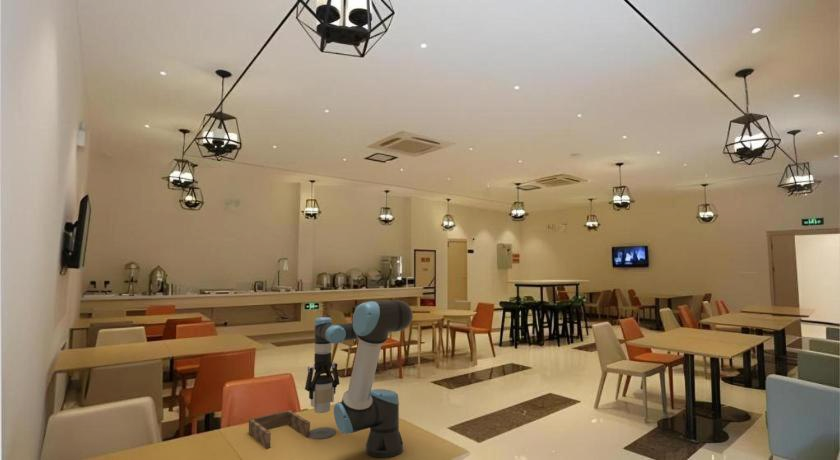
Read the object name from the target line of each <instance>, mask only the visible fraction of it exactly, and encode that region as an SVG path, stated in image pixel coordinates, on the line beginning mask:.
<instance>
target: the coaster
mask: <svg viewBox="0 0 840 460" xmlns="http://www.w3.org/2000/svg"><path fill="white" fill-rule="evenodd" d="M336 433H337V429H335V428H334V427H328V426H324V427H316V428H313V429H310V435H309V437H308V438H310V439H313V440H325V439H329V438H331V437H334V436H336Z"/></svg>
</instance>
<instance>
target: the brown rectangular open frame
mask: <svg viewBox="0 0 840 460" xmlns="http://www.w3.org/2000/svg"><path fill="white" fill-rule="evenodd" d="M287 425H288V426H289V427H291V428H292V429H293V430H295V431H297V432H298V433H300V434H301V435H303V436H304V437H305V438H310V437H309V435H310V431H311V422H310V421H309V420H307V419H305V418H304V417H302V416H300V415H299V414H297V413H295V412H294V411H292V410H290V409H289V410H288V409H287V410H284V411H279V412H276V413H275V412H274V413H271V414H267V415H262V416H257V417H254V418H249V419H248V434H249V435H250V436H251V437H252V438H253V439H254V440H256V441H257V442H258V443H259V444H261V445H262V446H263V447H264V448H265V449H267V450H268V449H270V448H271V440H272V439H271V434H272V433H271V431H269V430H272V429H276V428H280V427H283V426H287Z"/></svg>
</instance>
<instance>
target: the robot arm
mask: <svg viewBox="0 0 840 460" xmlns="http://www.w3.org/2000/svg"><path fill="white" fill-rule="evenodd" d="M413 314H414V312H413V309H412V308H411V306H410V305H409V304H408V303H406V302H405V301H403V300H398V299H393V300H381V301H380V300H378V301H377V300H376V301H374V300H373V301H372V300H371V301H366V302H361V304H358V305H357V306H356V308H355V310H354V312H353V316H352V322H346V323H337V324H333V320H332V318H331V317H327V316H326V317H325V316H323V317H321V316H320V317H317V318H315V320H314V355H313V356H314V357H313V358H314V359H313V361H314V364H313V366H308V367H307V377H306V380H305V387H304V390H306V391H307V392H308V393H309V394H308V398H309V400H310V407H312V408H314V407H315V391H314V389H315V386H316V384H315V382H317V379H319V377H320V375H327V376H328V377H329V376H330V377H331V378H332V380H333V382H332V396H331V404H332V403H334V402H335V394H336V388H337V387H338V385H340V384H341V383H340V378H339V377H340V376H339V373H338V372H339V371H338V363H336V362H332V350H333V349H332V344H338V345H339V344H341V343H342V342H345V341H354V340H358V344H357V348H356V353H355V357H354V361H353V366H352V370H351V371H352V372H351V376H350V380H349V385H348V389H347V390H346V391H345V392H344V393H343V395H342V399H341V401H338V402H337V403H335V404H334V406H333V415H334V420H335V424H336V427H337V429H338V431H339V432H340V433H341V434H344V435H346V434H353V433H356V432H357V433H358V432H360V431H363V430H364V431H365V430H367V429H369V433H368V436H367V440H366V444H365V453H366V454H367V455H369V456H370V457H374V458H381V459H384V458H392V457H395V456H397V455H399V454H401V453H402V452H403V451H404V443H403V442H404V441H403V438H402V435H401V433H400V428H399V427H400V426H399V424H400V423H399V422H400V421H399V420H400V419H399V417H400V415H399V414H400V413H399V412H400V411H399V410H400V409H399V408H400V407H399V405H400V403H399V402H400V401H399V400H400V399H399V395H398V393H397V392H396V391H394V390H391V389H384V388H375V389H373V384H374V380H375V375H376V371H377V366H378V362H379V358H380V354H381V349H382V345H383V344H385V343H386V342H387V341H388V337H389V333H393V332H394V333H395V332H401V331H404V330H406V329H407V328H409V327H410V325H411V324H412V322H413V316H414V315H413ZM331 369H332V370H331ZM331 371H332V372H331Z"/></svg>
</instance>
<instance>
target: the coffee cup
mask: <svg viewBox="0 0 840 460" xmlns="http://www.w3.org/2000/svg"><path fill="white" fill-rule="evenodd" d="M332 382H333V380H332V378H331V377H330V376H329V377H328V376H327V375H326V374H321V375H320V377H319V379H317V382H315V384H316V386H315V389H314V391H315V407H313V408H314V413H317V414H325V413H328V412H329V411H330V410H331V404H332V402H331V396H332Z"/></svg>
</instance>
